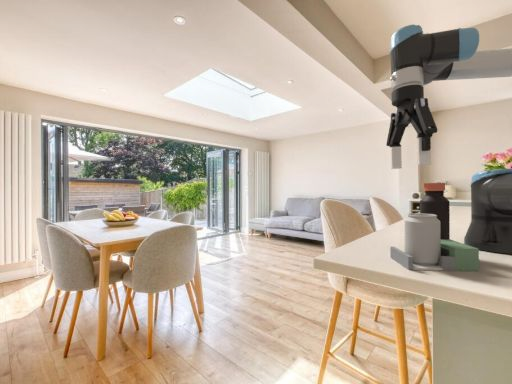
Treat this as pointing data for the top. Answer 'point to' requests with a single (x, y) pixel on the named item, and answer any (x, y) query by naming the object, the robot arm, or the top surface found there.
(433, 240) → the can
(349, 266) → the top surface
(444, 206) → the bottle
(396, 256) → the green and grey holder
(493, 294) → the top surface
